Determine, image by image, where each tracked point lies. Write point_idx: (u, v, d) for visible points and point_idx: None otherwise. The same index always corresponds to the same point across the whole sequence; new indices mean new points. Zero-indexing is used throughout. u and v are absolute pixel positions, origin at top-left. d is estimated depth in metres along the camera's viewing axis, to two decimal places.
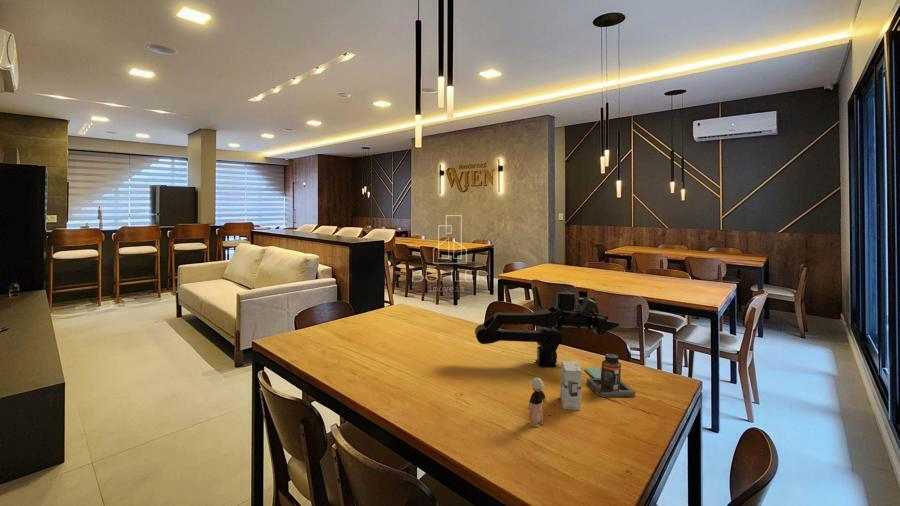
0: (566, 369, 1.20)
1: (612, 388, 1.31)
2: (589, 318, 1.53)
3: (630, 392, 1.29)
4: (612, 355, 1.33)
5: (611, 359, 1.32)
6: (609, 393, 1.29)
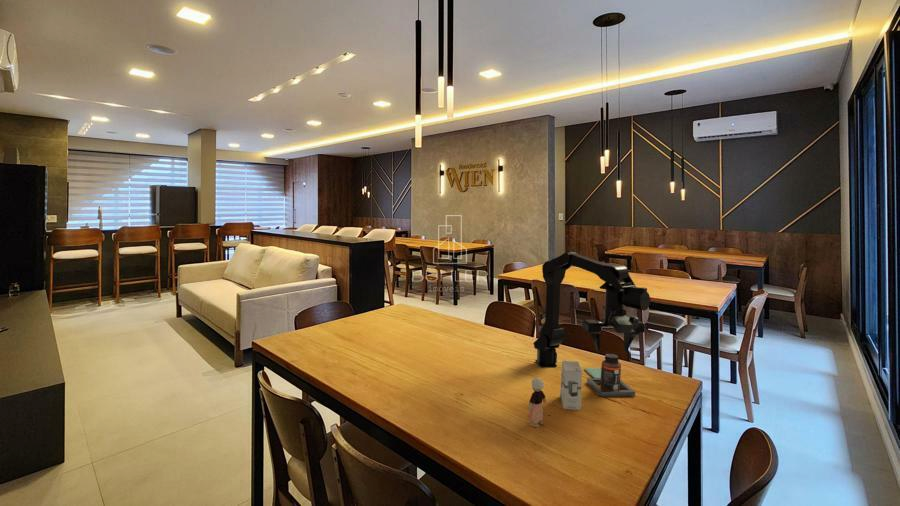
0: (566, 369, 1.20)
1: (612, 388, 1.31)
2: (607, 321, 1.31)
3: (630, 392, 1.29)
4: (612, 355, 1.33)
5: (611, 359, 1.32)
6: (609, 393, 1.29)
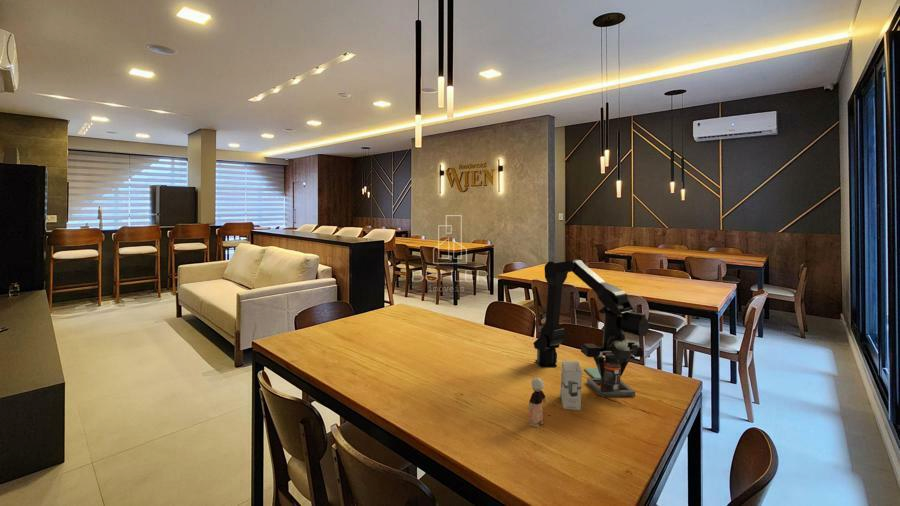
0: (566, 369, 1.20)
1: (612, 388, 1.31)
2: (606, 346, 1.32)
3: (630, 392, 1.29)
4: (612, 355, 1.33)
5: (611, 359, 1.32)
6: (609, 393, 1.29)
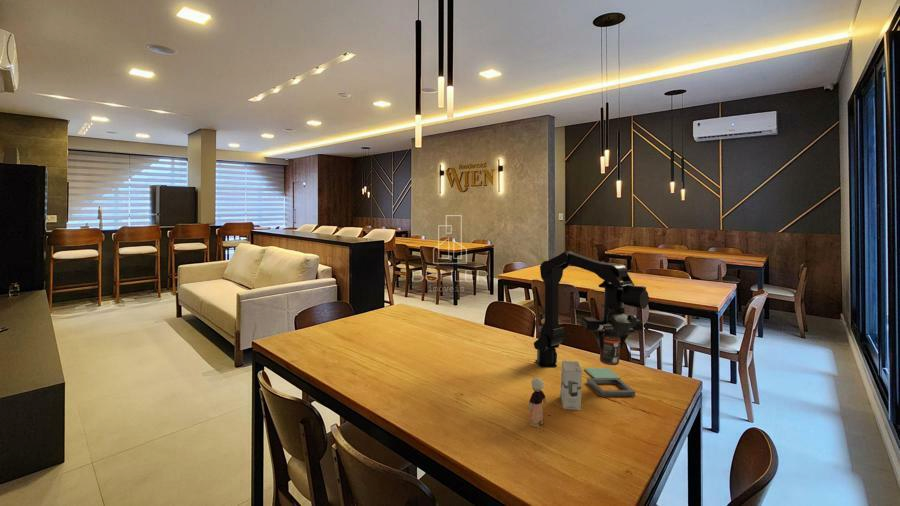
0: (566, 369, 1.20)
1: (611, 361, 1.33)
2: None
3: (630, 392, 1.29)
4: (612, 329, 1.35)
5: (610, 332, 1.33)
6: (609, 393, 1.29)
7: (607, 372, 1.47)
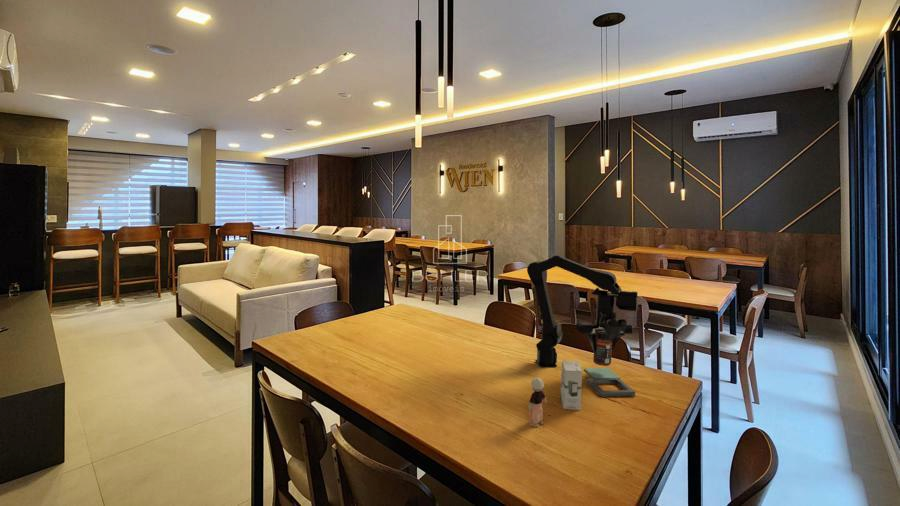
0: (566, 369, 1.20)
1: (604, 362, 1.44)
2: (599, 323, 1.44)
3: (630, 392, 1.29)
4: (604, 332, 1.46)
5: (603, 335, 1.44)
6: (609, 393, 1.29)
7: (607, 372, 1.47)
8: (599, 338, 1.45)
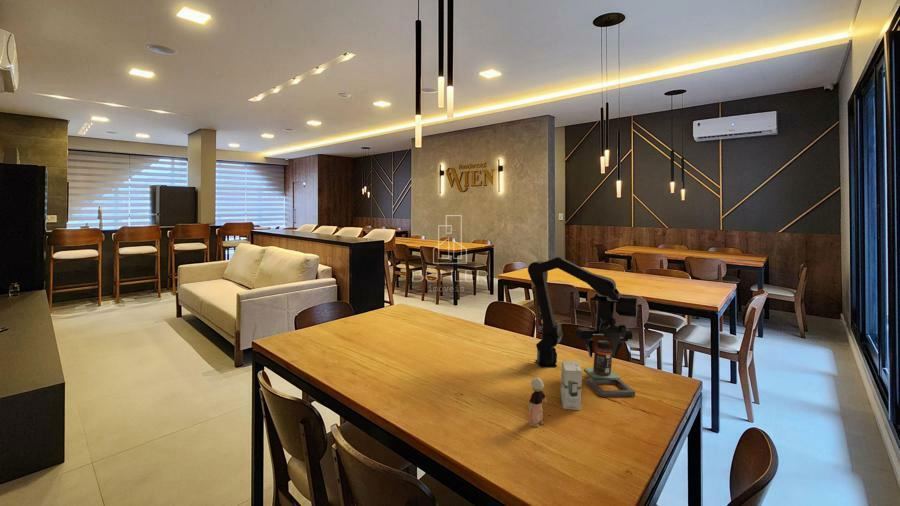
0: (566, 369, 1.20)
1: (604, 371, 1.44)
2: (599, 329, 1.44)
3: (630, 392, 1.29)
4: (604, 341, 1.46)
5: (603, 345, 1.44)
6: (609, 393, 1.29)
7: None
8: (599, 347, 1.45)
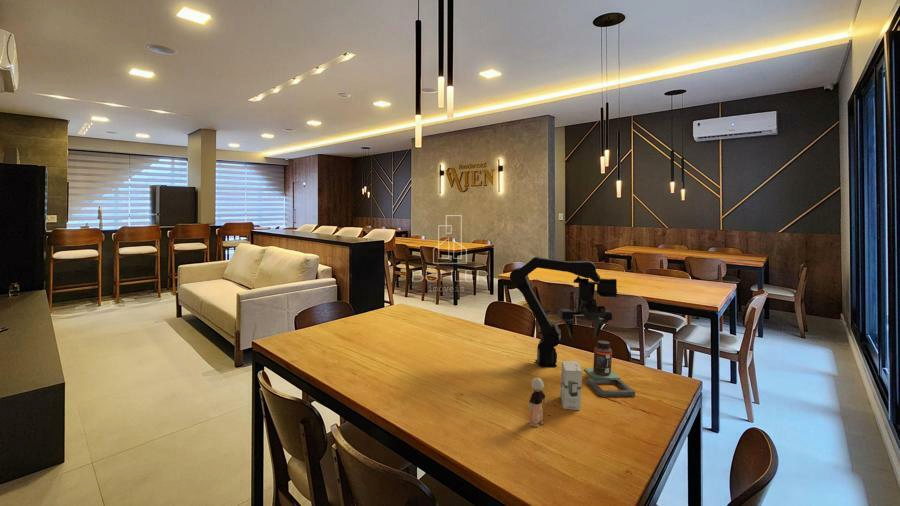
0: (566, 369, 1.20)
1: (604, 371, 1.44)
2: (579, 310, 1.49)
3: (630, 392, 1.29)
4: (604, 342, 1.46)
5: (602, 345, 1.44)
6: (609, 393, 1.29)
7: None
8: (599, 348, 1.45)
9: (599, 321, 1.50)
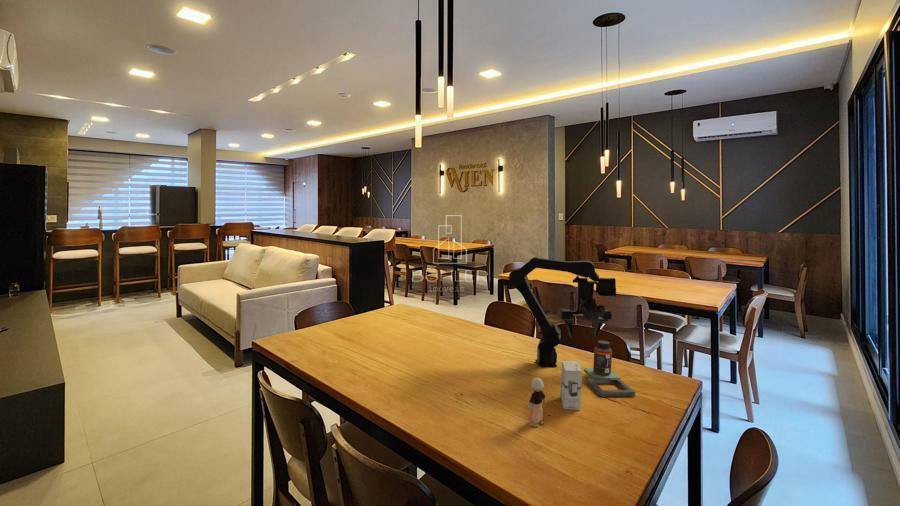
0: (566, 369, 1.20)
1: (604, 371, 1.44)
2: None
3: (630, 392, 1.29)
4: (604, 342, 1.46)
5: (602, 345, 1.44)
6: (609, 393, 1.29)
7: None
8: (599, 348, 1.45)
9: (599, 320, 1.50)
